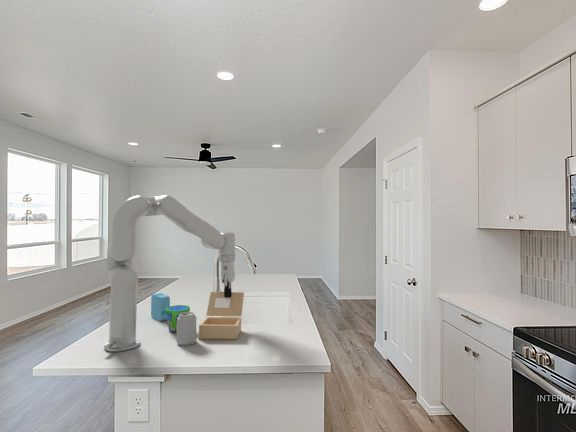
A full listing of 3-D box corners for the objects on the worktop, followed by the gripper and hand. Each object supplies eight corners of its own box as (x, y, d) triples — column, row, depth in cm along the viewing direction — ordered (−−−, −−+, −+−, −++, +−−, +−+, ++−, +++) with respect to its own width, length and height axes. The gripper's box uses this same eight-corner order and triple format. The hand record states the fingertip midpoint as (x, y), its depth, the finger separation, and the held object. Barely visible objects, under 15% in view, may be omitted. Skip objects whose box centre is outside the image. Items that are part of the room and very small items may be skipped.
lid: (243, 292, 158) (244, 293, 158) (210, 292, 158) (211, 292, 158) (241, 315, 149) (241, 316, 150) (206, 315, 149) (206, 315, 150)
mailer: (236, 340, 137) (237, 325, 137) (198, 339, 137) (199, 325, 137) (241, 330, 149) (241, 317, 149) (206, 330, 149) (206, 317, 149)
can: (188, 338, 138) (189, 310, 139) (199, 342, 134) (200, 313, 134) (172, 343, 133) (173, 313, 133) (183, 347, 128) (184, 317, 128)
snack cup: (183, 336, 141) (184, 312, 142) (159, 335, 141) (159, 312, 142) (194, 325, 157) (194, 303, 157) (172, 324, 157) (172, 303, 157)
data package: (169, 320, 164) (170, 296, 165) (160, 322, 161) (161, 297, 162) (159, 315, 173) (159, 292, 173) (150, 317, 170) (151, 293, 170)
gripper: (232, 260, 148) (233, 300, 148) (237, 256, 163) (238, 293, 163) (215, 260, 148) (216, 300, 148) (222, 256, 163) (223, 293, 163)
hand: (227, 296), depth 156 cm, fingers closed
